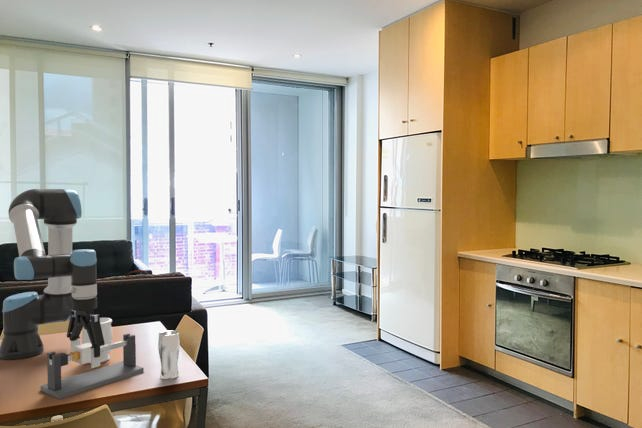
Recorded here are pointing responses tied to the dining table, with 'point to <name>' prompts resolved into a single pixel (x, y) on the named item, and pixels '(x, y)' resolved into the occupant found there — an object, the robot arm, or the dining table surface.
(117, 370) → the rod support stand
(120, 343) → the guide rod
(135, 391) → the dining table surface
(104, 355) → the jar
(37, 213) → the robot arm
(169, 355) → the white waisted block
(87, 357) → the sleeve
